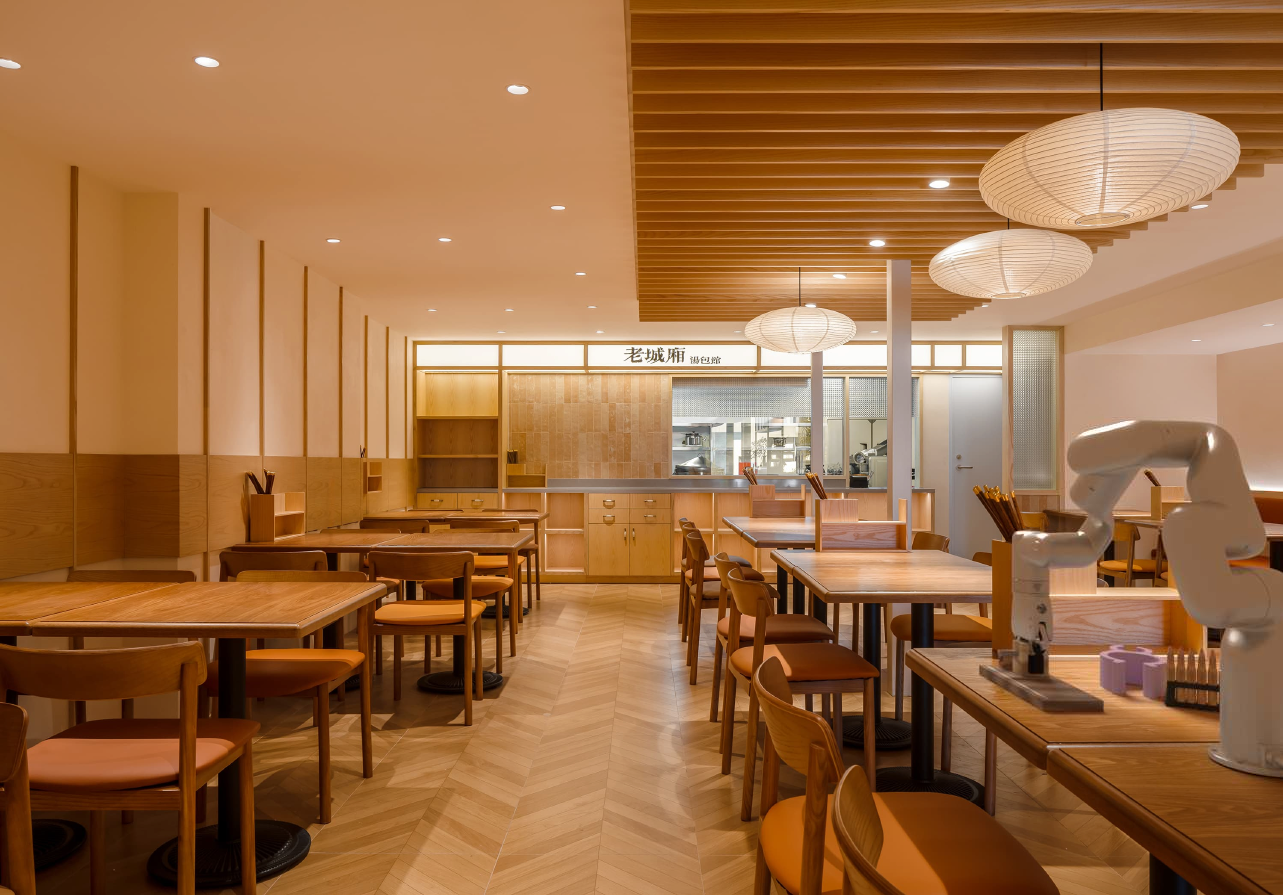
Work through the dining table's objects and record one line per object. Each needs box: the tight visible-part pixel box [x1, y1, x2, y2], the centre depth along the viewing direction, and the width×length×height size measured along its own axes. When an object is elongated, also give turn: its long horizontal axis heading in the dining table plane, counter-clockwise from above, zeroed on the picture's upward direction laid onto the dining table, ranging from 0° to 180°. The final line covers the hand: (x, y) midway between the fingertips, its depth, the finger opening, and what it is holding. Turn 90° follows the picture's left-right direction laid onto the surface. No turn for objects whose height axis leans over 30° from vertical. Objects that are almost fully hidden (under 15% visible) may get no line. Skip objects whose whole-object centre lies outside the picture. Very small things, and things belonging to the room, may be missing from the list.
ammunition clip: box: [1164, 645, 1220, 714], centre depth 162 cm, size 11×2×12 cm, turn 65°
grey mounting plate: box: [978, 656, 1105, 712], centre depth 174 cm, size 28×12×5 cm, turn 2°
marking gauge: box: [997, 639, 1050, 676], centre depth 180 cm, size 4×10×7 cm, turn 92°
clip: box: [1099, 644, 1167, 700], centre depth 179 cm, size 20×12×7 cm, turn 152°
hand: (1030, 669), depth 180 cm, fingers closed on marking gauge, 4 cm apart
